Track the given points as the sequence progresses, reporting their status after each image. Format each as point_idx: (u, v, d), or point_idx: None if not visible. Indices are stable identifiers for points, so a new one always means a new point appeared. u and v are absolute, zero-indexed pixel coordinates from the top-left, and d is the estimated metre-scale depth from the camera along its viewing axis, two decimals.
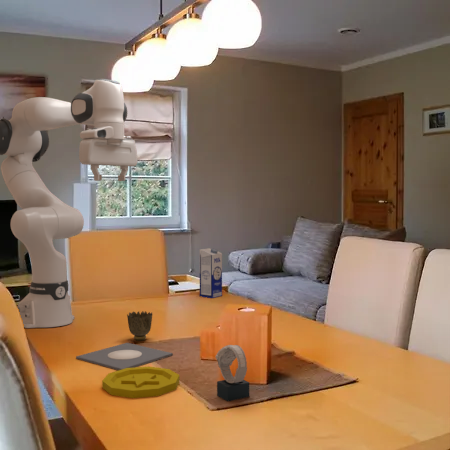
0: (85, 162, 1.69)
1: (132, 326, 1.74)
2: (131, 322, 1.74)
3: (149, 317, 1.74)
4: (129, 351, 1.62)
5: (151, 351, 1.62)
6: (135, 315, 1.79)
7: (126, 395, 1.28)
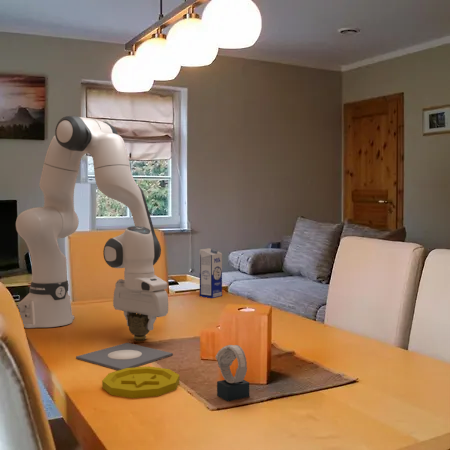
0: (165, 314, 1.71)
1: (132, 326, 1.74)
2: (131, 322, 1.74)
3: None
4: (129, 351, 1.62)
5: (151, 351, 1.62)
6: (135, 315, 1.79)
7: (126, 395, 1.28)
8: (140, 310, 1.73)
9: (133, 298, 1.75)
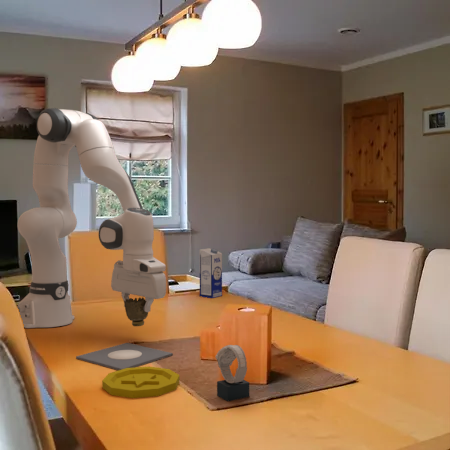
0: (162, 296, 1.70)
1: (129, 311, 1.74)
2: (128, 307, 1.74)
3: (145, 301, 1.74)
4: (129, 351, 1.62)
5: (151, 351, 1.62)
6: (132, 301, 1.79)
7: (126, 395, 1.28)
8: (138, 291, 1.73)
9: (131, 279, 1.75)
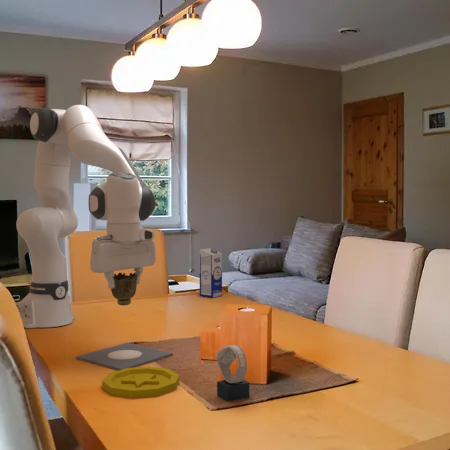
0: None
1: (133, 288, 1.56)
2: (132, 284, 1.56)
3: None
4: (129, 351, 1.62)
5: (151, 351, 1.62)
6: None
7: (126, 395, 1.28)
8: (134, 264, 1.58)
9: (124, 253, 1.55)
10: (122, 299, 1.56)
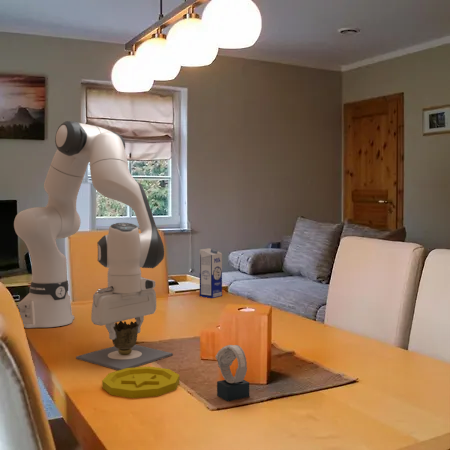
0: None
1: (134, 338, 1.57)
2: (133, 334, 1.56)
3: None
4: None
5: (151, 351, 1.62)
6: None
7: (126, 395, 1.28)
8: (135, 313, 1.59)
9: (125, 304, 1.56)
10: (123, 349, 1.57)
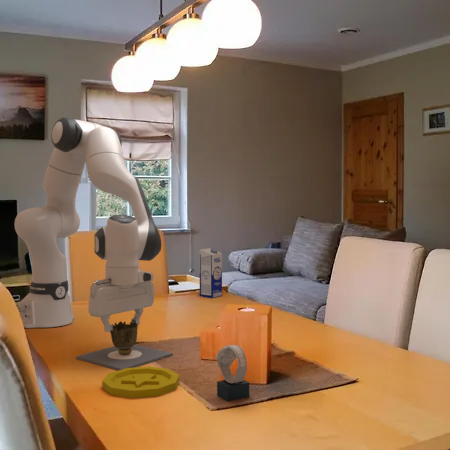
0: None
1: (133, 337, 1.57)
2: (133, 333, 1.57)
3: None
4: None
5: (151, 351, 1.62)
6: None
7: (126, 395, 1.28)
8: (133, 306, 1.59)
9: (123, 296, 1.56)
10: (123, 349, 1.57)
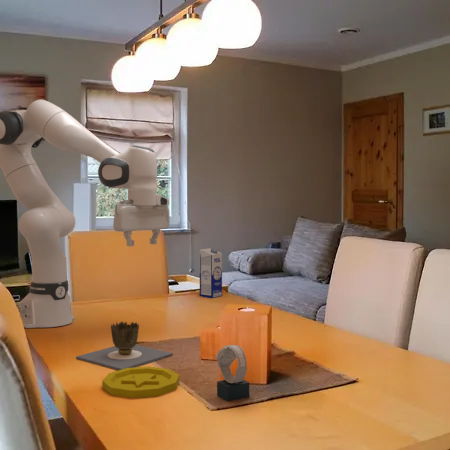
0: None
1: (134, 338, 1.57)
2: (134, 334, 1.57)
3: None
4: None
5: (151, 351, 1.62)
6: None
7: (126, 395, 1.28)
8: (151, 226, 1.81)
9: (143, 216, 1.79)
10: (123, 349, 1.57)
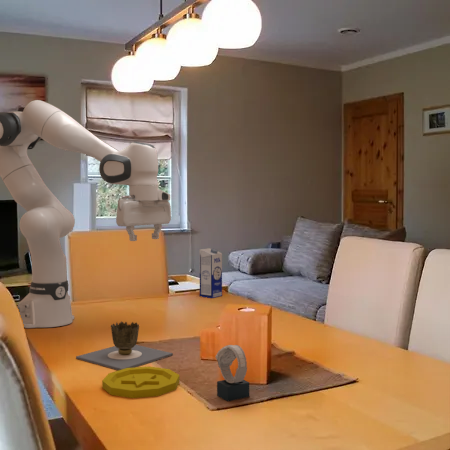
0: None
1: (134, 338, 1.57)
2: (134, 334, 1.57)
3: None
4: None
5: (151, 351, 1.62)
6: None
7: (126, 395, 1.28)
8: (153, 221, 1.84)
9: (145, 211, 1.81)
10: (123, 349, 1.57)
